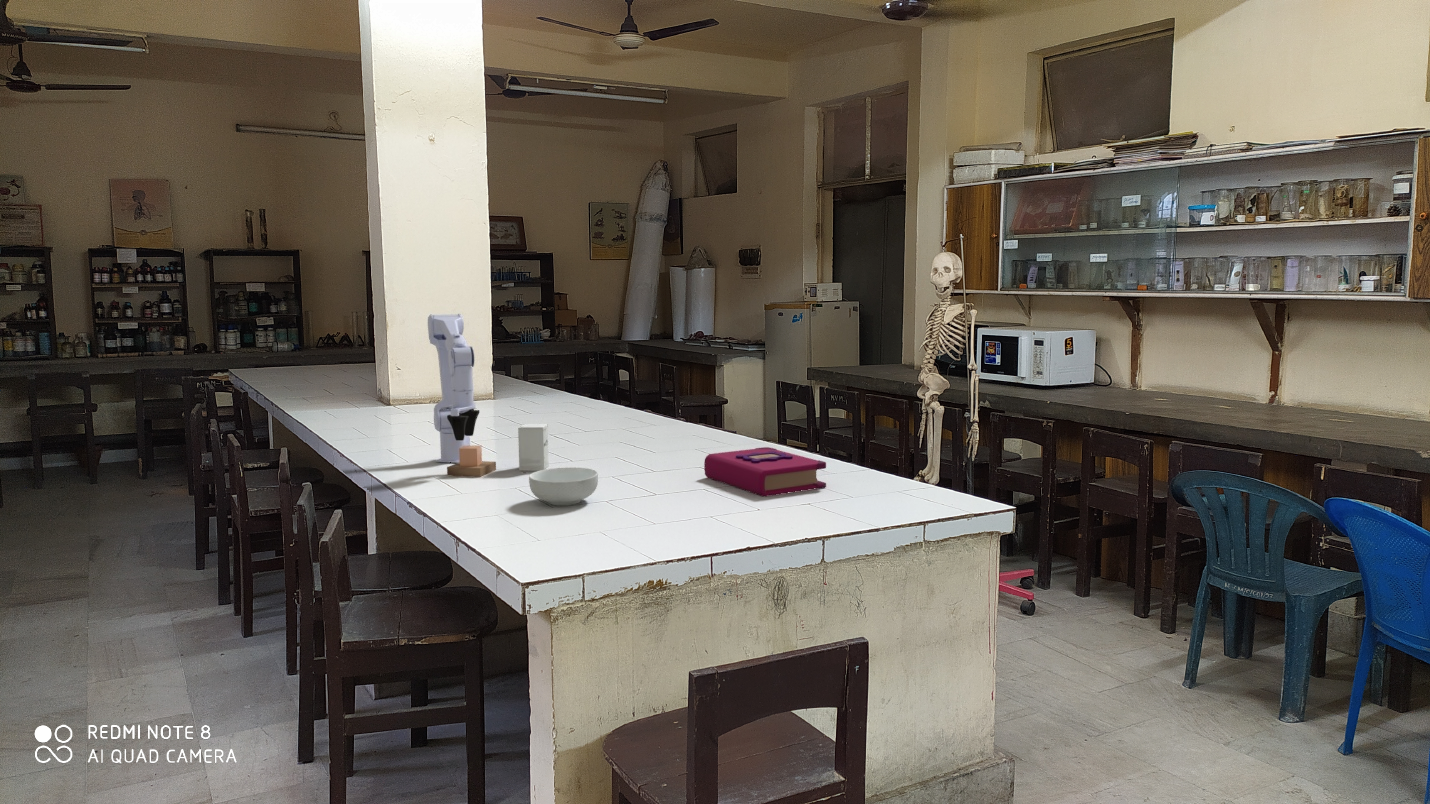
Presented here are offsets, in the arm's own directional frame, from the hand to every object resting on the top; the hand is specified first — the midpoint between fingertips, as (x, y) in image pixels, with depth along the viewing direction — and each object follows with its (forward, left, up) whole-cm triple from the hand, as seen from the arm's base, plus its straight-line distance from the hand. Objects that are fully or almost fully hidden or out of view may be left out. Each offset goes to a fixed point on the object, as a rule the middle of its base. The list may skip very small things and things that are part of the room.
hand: (464, 438), depth 276 cm
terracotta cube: (+1, +2, -7) cm, 8 cm away
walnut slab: (0, +2, -10) cm, 11 cm away
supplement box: (-9, +17, -10) cm, 22 cm away
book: (-2, +85, -11) cm, 86 cm away
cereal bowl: (+29, +41, -10) cm, 51 cm away
